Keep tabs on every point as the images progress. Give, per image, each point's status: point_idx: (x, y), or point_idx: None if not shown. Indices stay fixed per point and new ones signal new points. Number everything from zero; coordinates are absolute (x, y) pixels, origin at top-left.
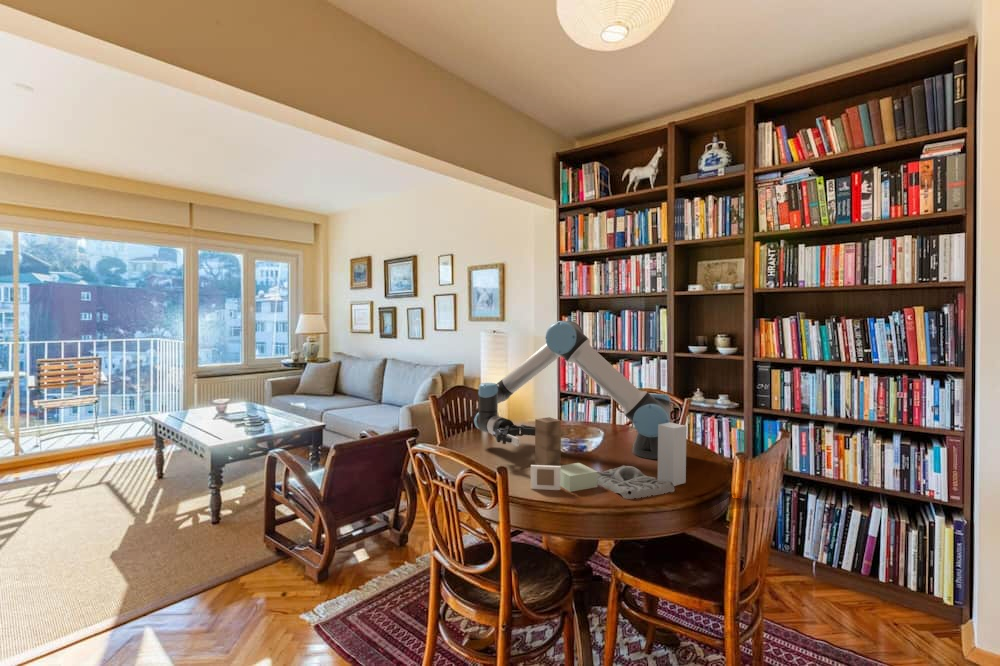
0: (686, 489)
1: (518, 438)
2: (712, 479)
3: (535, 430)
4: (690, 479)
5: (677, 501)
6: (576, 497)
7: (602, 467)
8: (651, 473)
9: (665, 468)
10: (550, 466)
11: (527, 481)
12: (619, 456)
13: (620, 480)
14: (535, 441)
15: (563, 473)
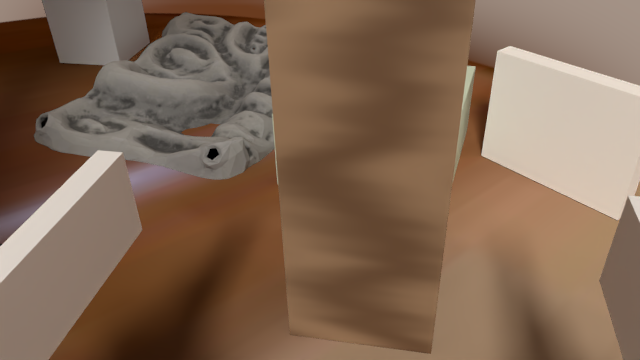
0: (155, 29)
1: (637, 198)
2: (21, 27)
3: (473, 9)
4: (51, 42)
5: (264, 19)
6: (483, 103)
7: (45, 193)
8: (40, 91)
9: (125, 2)
10: (553, 61)
11: (589, 280)
12: None
13: (227, 86)
14: (459, 126)
15: (468, 92)
